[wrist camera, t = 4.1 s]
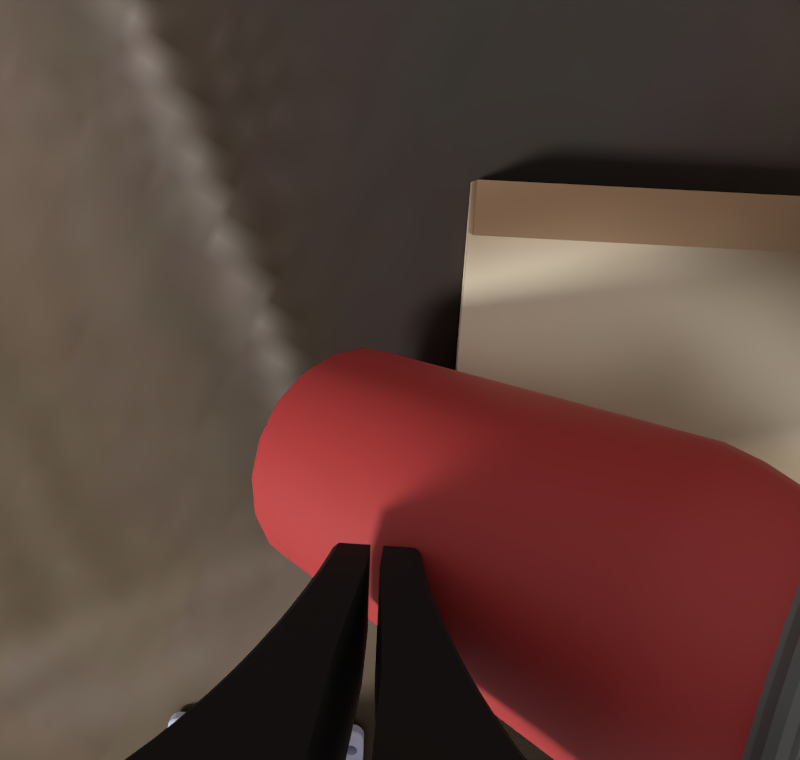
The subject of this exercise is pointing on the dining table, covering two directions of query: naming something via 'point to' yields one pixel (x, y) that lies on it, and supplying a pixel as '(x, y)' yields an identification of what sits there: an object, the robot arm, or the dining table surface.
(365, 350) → the beer can
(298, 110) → the dining table surface
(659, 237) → the birch tray
